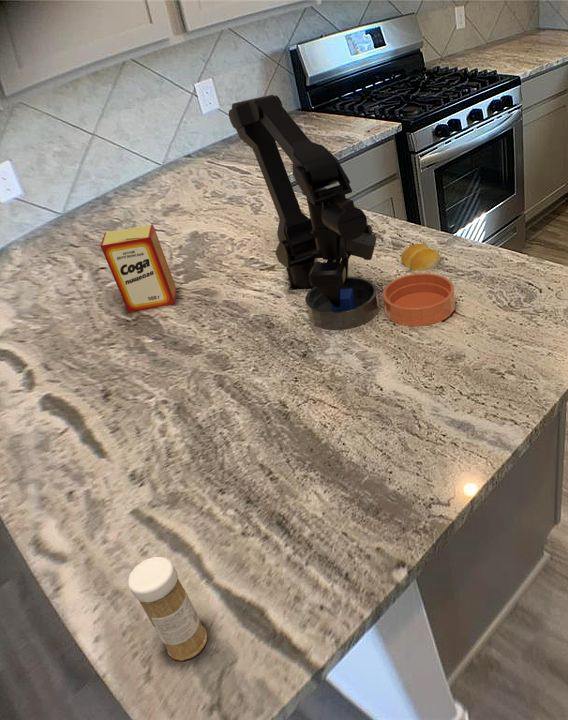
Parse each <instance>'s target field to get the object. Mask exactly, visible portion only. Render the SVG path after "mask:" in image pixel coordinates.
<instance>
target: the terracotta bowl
mask: <svg viewBox="0 0 568 720" xmlns="http://www.w3.org/2000/svg"><path fill="white" fill-rule="evenodd" d="M382 302H383V307H384V312H385V315H386V317H387V319H389V320H390V321H391V322H393V323H395V324H398V325H401V326H407V327H425V326H429V325H435V324H437V323H439V322H443V321H445V320H446V319H447V318H449V317H450V316H451V315H452V314H453V312H454V311H455V309H456V295H455V286H454V284H453V282H452V280H450V279H448V278H447V277H446V276H444V275H439V274H436V273H428V272H422V273H421V272H419V273H411V274H406V275H402V276H400V277H397V278H395V279H394V280H392V281H390V282H389V283H387V284H386V286H385V287H384V288H383V290H382Z"/></svg>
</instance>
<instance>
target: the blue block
mask: <svg viewBox="0 0 568 720" xmlns="http://www.w3.org/2000/svg"><path fill="white" fill-rule="evenodd" d="M330 303H331V302H330ZM331 308H332V312H336V311H345V310H350V309H353V308H355V300H354V294H353V289H352V288H351V289H340V307H334V305H333V304H332V303H331Z"/></svg>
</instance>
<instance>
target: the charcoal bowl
mask: <svg viewBox="0 0 568 720" xmlns="http://www.w3.org/2000/svg"><path fill="white" fill-rule="evenodd" d="M351 288H352V289H353V294H354V300H355V308H353V309H350V310H345V311H336V312H332V308H331V303H330V301H329V300H328V298H327V297H326V296H325V295H324V294H323V293H322V292H321V291H320V290H319V289H318V288H317V287H313V288H312V289H309V291H308V292H307V293H306V295H305V298H304V300H305V304H306V309H307V313H308V317H309V321H310V322H311V324H313V325H314V326H315V327H318V328H321V329H323V330H331V331H340V330H342V331H343V330H349V329H353V328H357V327H359V326H362V325H365V324H366V323H368V322H370V321H371V320H372V319H374V318H375V317H376V316H377V314H378V313H379V310H380V300H379V299H380V298H379V293H378V288H377V287H376V284H374V283H373V282H372V281H371V280H369V279H366V278H363V277H359V276H358V277H357V276H348V280H347V283H344V284H343V285H341V286H340V289H351Z"/></svg>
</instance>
